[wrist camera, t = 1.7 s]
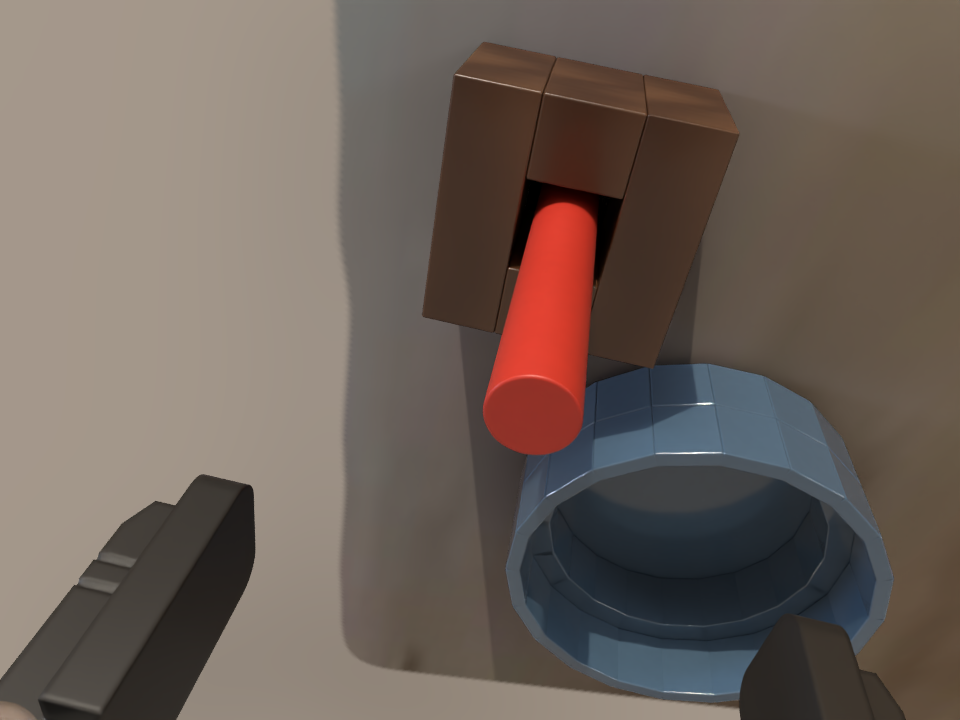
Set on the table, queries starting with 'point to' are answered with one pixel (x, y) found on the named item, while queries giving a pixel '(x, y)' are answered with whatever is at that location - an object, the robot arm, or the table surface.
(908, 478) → the table surface
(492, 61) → the holder
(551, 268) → the stick
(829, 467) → the bowl
